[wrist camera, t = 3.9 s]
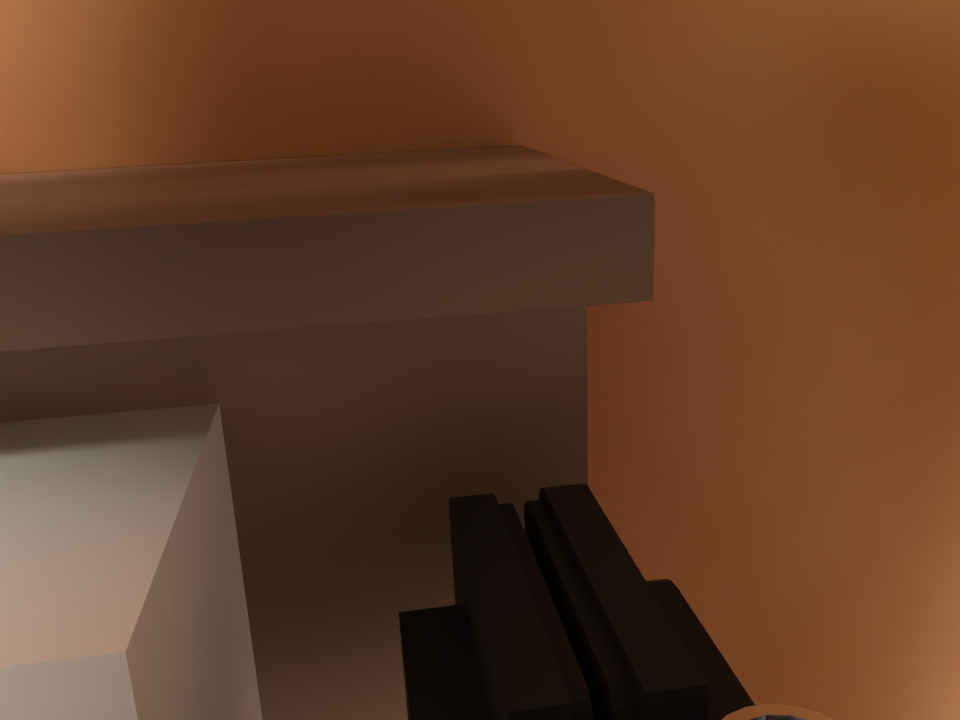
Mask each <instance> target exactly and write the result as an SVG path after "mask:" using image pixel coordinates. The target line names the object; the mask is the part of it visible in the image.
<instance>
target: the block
mask: <svg viewBox="0 0 960 720" xmlns="http://www.w3.org/2000/svg"><path fill="white" fill-rule="evenodd" d="M0 720H262V713H261V706H260V699H259V691H258V684H257V677H256V669H255V662H254V655H253V647H252V640H251V633H250V625H249V618H248V611H247V603H246V596H245V589H244V581H243V574H242V567H241V560H240V552H239V545H238V538H237V530H236V523H235V516H234V508H233V501H232V494H231V486H230V479H229V472H228V464H227V457H226V450H225V442H224V435H223V428H222V420H221V413H220V406H219V403H217V404H205V405H194V406H182V407H171V408H159V409H148V410H137V411H125V412H114V413H102V414H91V415H79V416H68V417H56V418H45V419H33V420H22V421H10V422H0Z"/></svg>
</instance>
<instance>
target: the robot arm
mask: <svg viewBox="0 0 960 720" xmlns="http://www.w3.org/2000/svg"><path fill="white" fill-rule="evenodd" d="M449 514H450V530H451V545H452V561H453V576H454V591H455V605H451V606H443V607H435V608H427V609H419V610H411V611H403V612H399V625H400V636H401V648H402V659H403V671H404V682H405V693H406V703H407V714H408V720H836V719H833V718H831V717H829V716H827V715H825V714H823V713H821V712H818V711H814V710H810V709H806V708H803V707H799V706H795V705H783V704H762V705H755V704H754V703H753V701H752V700H751V698H750V697H749V695H748V694H747V692H746V691H745V689H744V688H743V686H742V685H741V683H740V682H739V680H738V679H737V677H736V676H735V674H734V673H733V671H732V670H731V668H730V667H729V665H728V663H727V662H726V660H725V659H724V657H723V656H722V654H721V653H720V651H719V650H718V648H717V647H716V645H715V644H714V642H713V641H712V639H711V638H710V636H709V635H708V633H707V632H706V630H705V629H704V627H703V626H702V624H701V623H700V621H699V620H698V618H697V617H696V615H695V614H694V612H693V611H692V609H691V608H690V606H689V605H688V603H687V602H686V600H685V599H684V597H683V596H682V594H681V593H680V591H679V590H678V588H677V587H676V585H675V584H674V583H673V582H672V581H671V580H668V579H661V580H653V581H645V579H644V578H643V576H642V574H641V573H640V571H639V569H638V568H637V566H636V564H635V563H634V561H633V559H632V558H631V556H630V555H629V553H628V551H627V550H626V548H625V546H624V545H623V543H622V541H621V540H620V538H619V536H618V535H617V533H616V532H615V530H614V528H613V527H612V525H611V523H610V522H609V520H608V518H607V517H606V515H605V513H604V512H603V510H602V508H601V507H600V505H599V504H598V502H597V500H596V499H595V497H594V495H593V494H592V492H591V490H590V489H589V487H588V486H587V485H586V484H585V483H582V484H573V485H563V486H554V487H545V488H541V489H540V492H539V500H534V501H525V505H524V524H525V531H524V529H523V526H522V524H521V521H520V519H519V516H518V514H517V511H516V509H515V506H514V504H513V503H507V504H498V501H497V498H496V496H495V494H494V493H490V494H481V495H472V496H463V497H454V498H450V499H449Z"/></svg>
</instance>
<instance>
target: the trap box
mask: <svg viewBox="0 0 960 720" xmlns="http://www.w3.org/2000/svg"><path fill="white" fill-rule="evenodd" d="M653 246H654V194H653V193H650V192H647V191H645V190H642V189H639V188H636V187H634V186H631V185H628V184H625V183H623V182H620V181H617V180H614V179H612V178H609V177H606V176H603V175H601V174H598V173H595V172H592V171H590V170H587V169H584V168H582V167H579V166H576V165H573V164H571V163H568V162H565V161H562V160H560V159H557V158H554V157H551V156H549V155H546V154H543V153H540V152H538V151H535V150H532V149H529V148H527V147H524V146H503V147H485V148H467V149H449V150H431V151H412V152H394V153H376V154H358V155H340V156H321V157H303V158H285V159H267V160H249V161H230V162H212V163H194V164H176V165H158V166H140V167H121V168H103V169H85V170H67V171H49V172H30V173H12V174H0V422H10V421H22V420H33V419H45V418H56V417H68V416H79V415H91V414H102V413H114V412H125V411H137V410H148V409H159V408H171V407H182V406H194V405H205V404H217V403H219V406H220V413H221V420H222V428H223V435H224V442H225V450H226V457H227V464H228V472H229V479H230V486H231V494H232V501H233V508H234V516H235V523H236V530H237V538H238V545H239V552H240V560H241V567H242V574H243V581H244V589H245V596H246V603H247V611H248V618H249V625H250V633H251V640H252V647H253V655H254V662H255V669H256V677H257V684H258V691H259V699H260V706H261V713H262V720H408V714H407V703H406V693H405V682H404V671H403V659H402V648H401V636H400V625H399V612H403V611H411V610H419V609H427V608H435V607H443V606H451V605H455V591H454V576H453V561H452V545H451V530H450V514H449V499H450V498H454V497H463V496H472V495H481V494H490V493H494V494H495V496H496V498H497V501H498V504H507V503H513V504H514V506H515V509H516V511H517V514H518V516H519V519H520V521H521V524H522V526H523V529H524V531H525V524H524V505H525V501H534V500H539V492H540V489H541V488H545V487H554V486H563V485H573V484H582V483H585V484H586V485H587V486H588V480H587V356H586V306H589V305H602V304H615V303H628V302H641V301H653Z"/></svg>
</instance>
